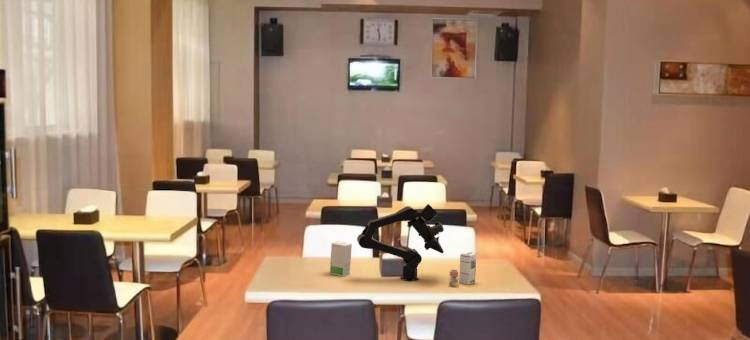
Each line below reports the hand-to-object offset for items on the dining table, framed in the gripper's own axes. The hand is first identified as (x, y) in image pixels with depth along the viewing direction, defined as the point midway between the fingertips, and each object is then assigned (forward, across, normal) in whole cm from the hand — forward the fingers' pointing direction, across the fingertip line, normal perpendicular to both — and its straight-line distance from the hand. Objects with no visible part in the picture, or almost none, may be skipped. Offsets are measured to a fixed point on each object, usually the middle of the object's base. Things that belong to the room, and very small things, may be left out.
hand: (443, 252), depth 334 cm
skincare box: (-24, -3, +46) cm, 51 cm away
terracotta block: (+14, +4, +6) cm, 16 cm away
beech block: (+14, -8, +5) cm, 17 cm away
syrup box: (+18, -1, +1) cm, 18 cm away
